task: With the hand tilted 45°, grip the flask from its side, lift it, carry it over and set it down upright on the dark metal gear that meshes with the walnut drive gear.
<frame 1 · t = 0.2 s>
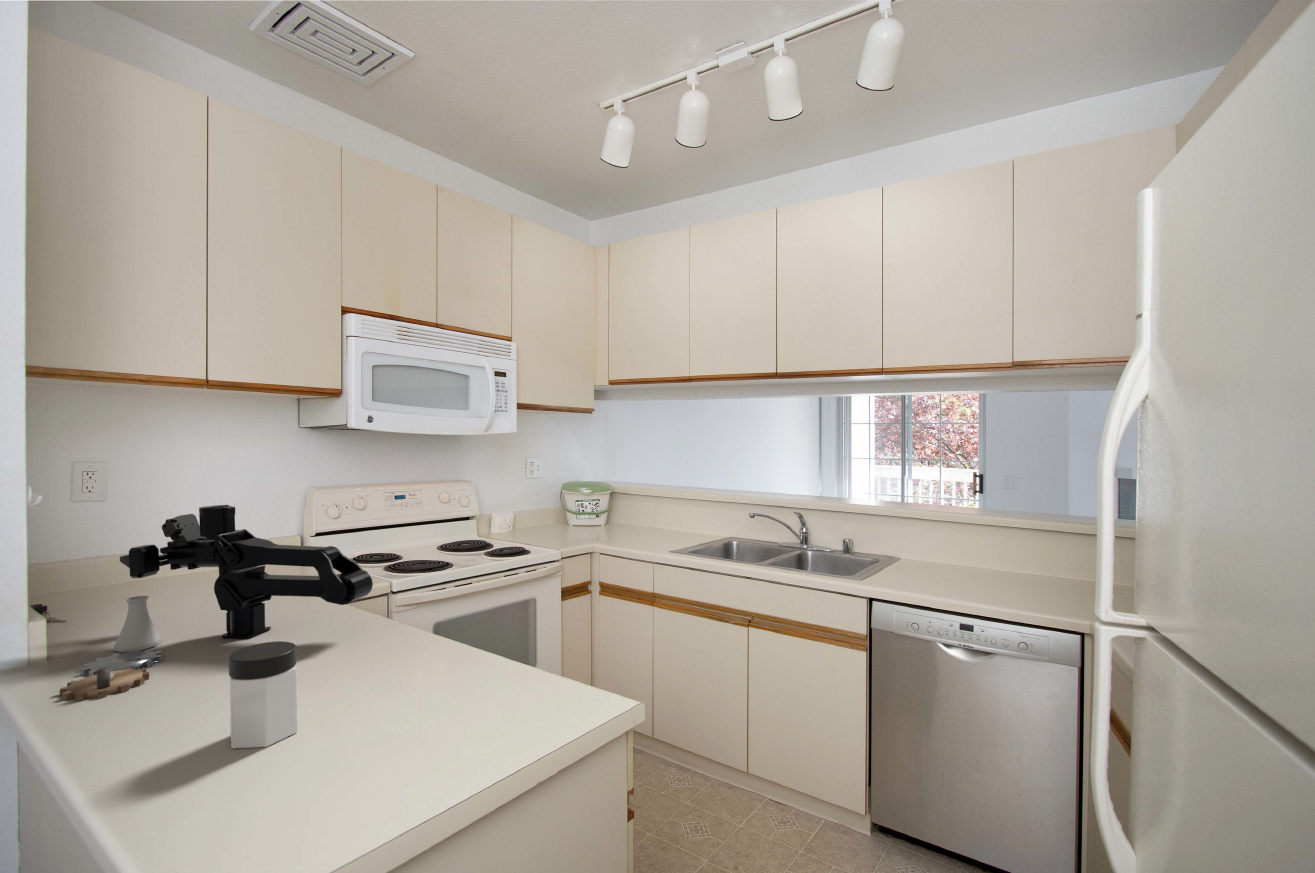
hand: (141, 554, 135), 16 cm above the worktop, tool horizontal, fingers open, 9 cm apart
flask: (138, 648, 125), on the worktop
jar: (264, 735, 88), on the worktop
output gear: (123, 665, 115), on the worktop
drive gear: (106, 686, 105), on the worktop
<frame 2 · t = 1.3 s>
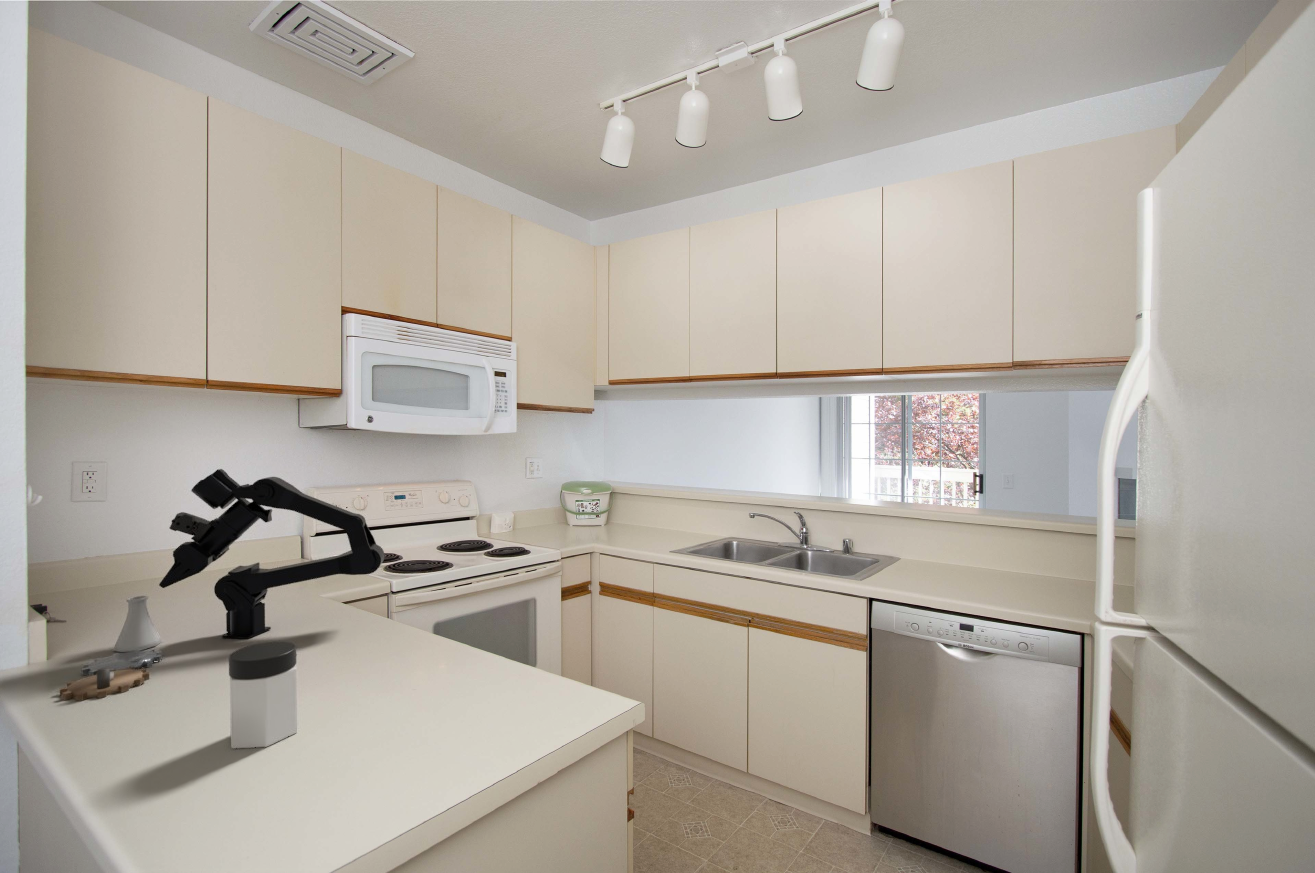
hand: (168, 581, 127), 13 cm above the worktop, tool tilted 45°, fingers open, 9 cm apart
nothing on the worktop moved.
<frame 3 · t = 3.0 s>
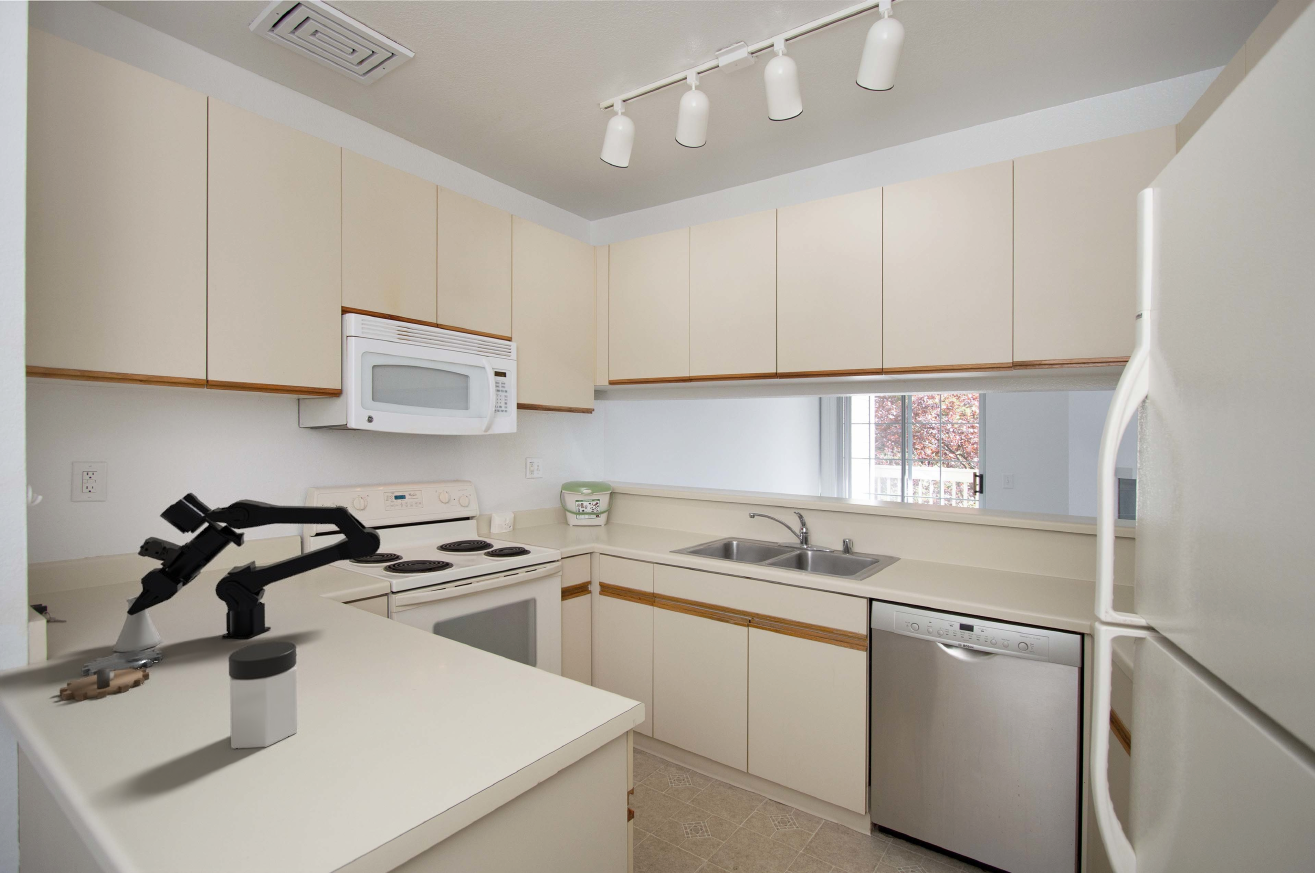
hand: (137, 607, 125), 8 cm above the worktop, tool tilted 45°, fingers open, 9 cm apart
nothing on the worktop moved.
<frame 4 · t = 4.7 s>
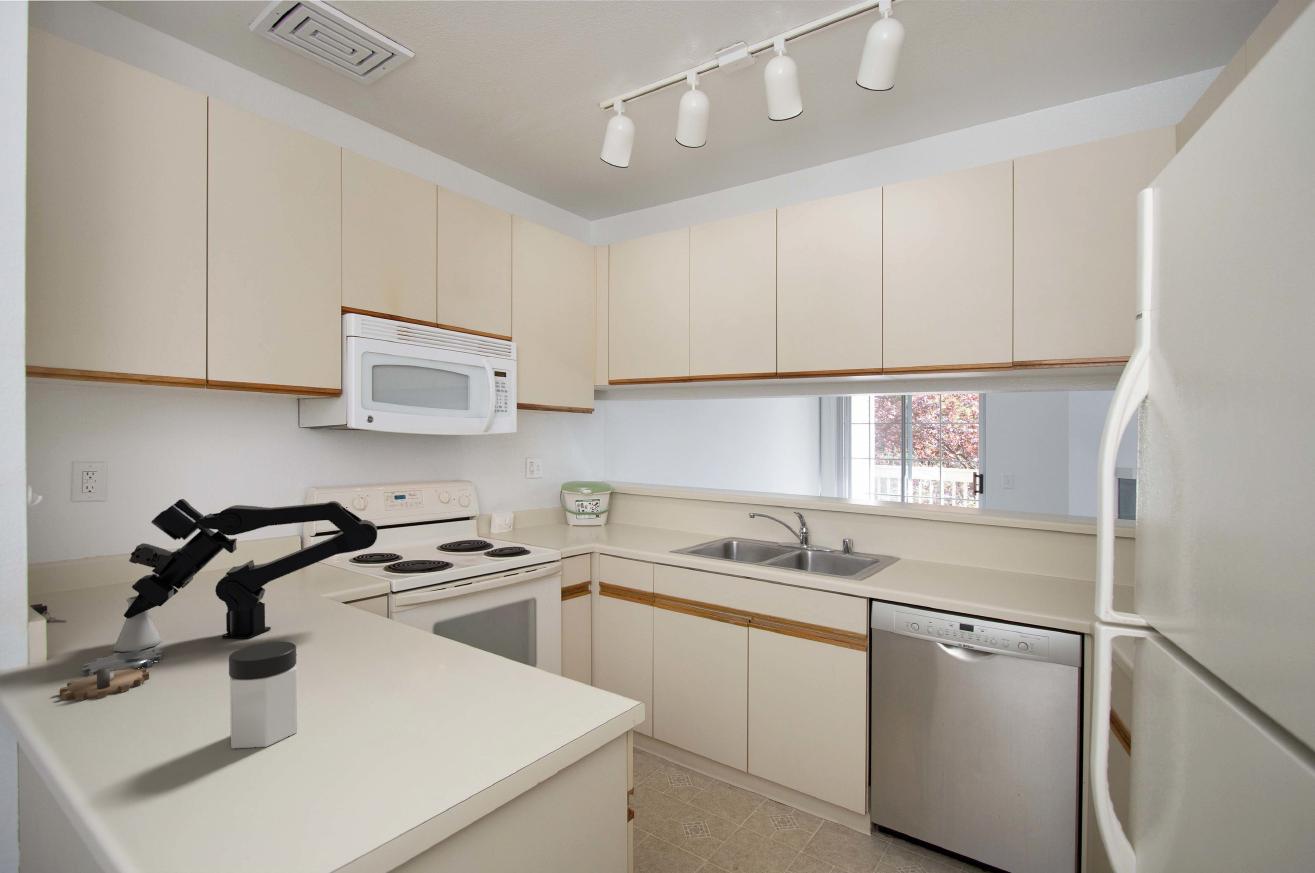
hand: (128, 614, 124), 7 cm above the worktop, tool tilted 45°, fingers closed on flask, 3 cm apart
flask: (138, 647, 125), on the worktop, touching gripper
everything else where it was.
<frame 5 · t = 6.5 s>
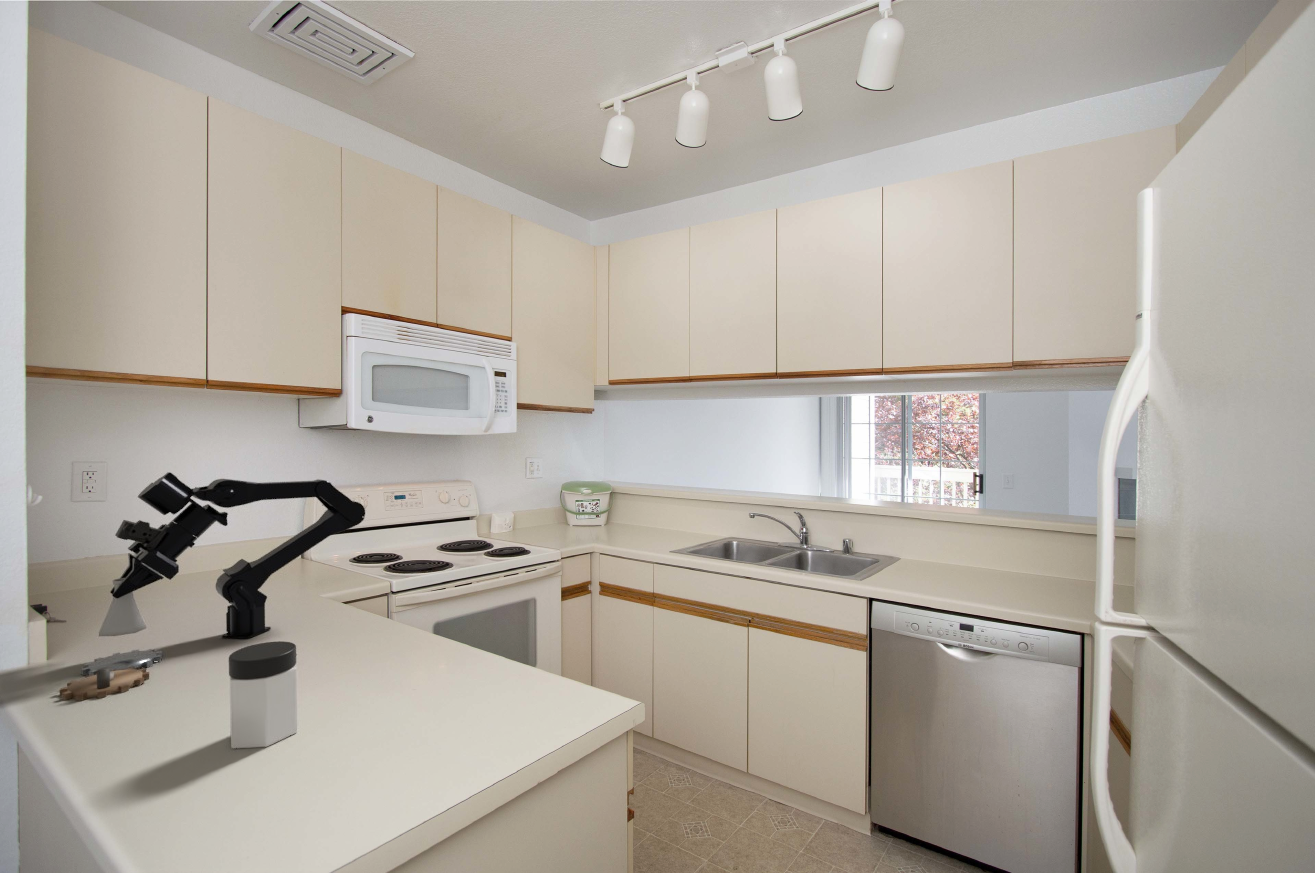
hand: (113, 595, 117), 12 cm above the worktop, tool tilted 45°, fingers closed on flask, 3 cm apart
flask: (122, 632, 118), point 5 cm above the worktop, touching gripper
everything else where it was.
when the fingers open (9 cm above the worktop, at t = 8.6 s): flask stays where it is, resting on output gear.
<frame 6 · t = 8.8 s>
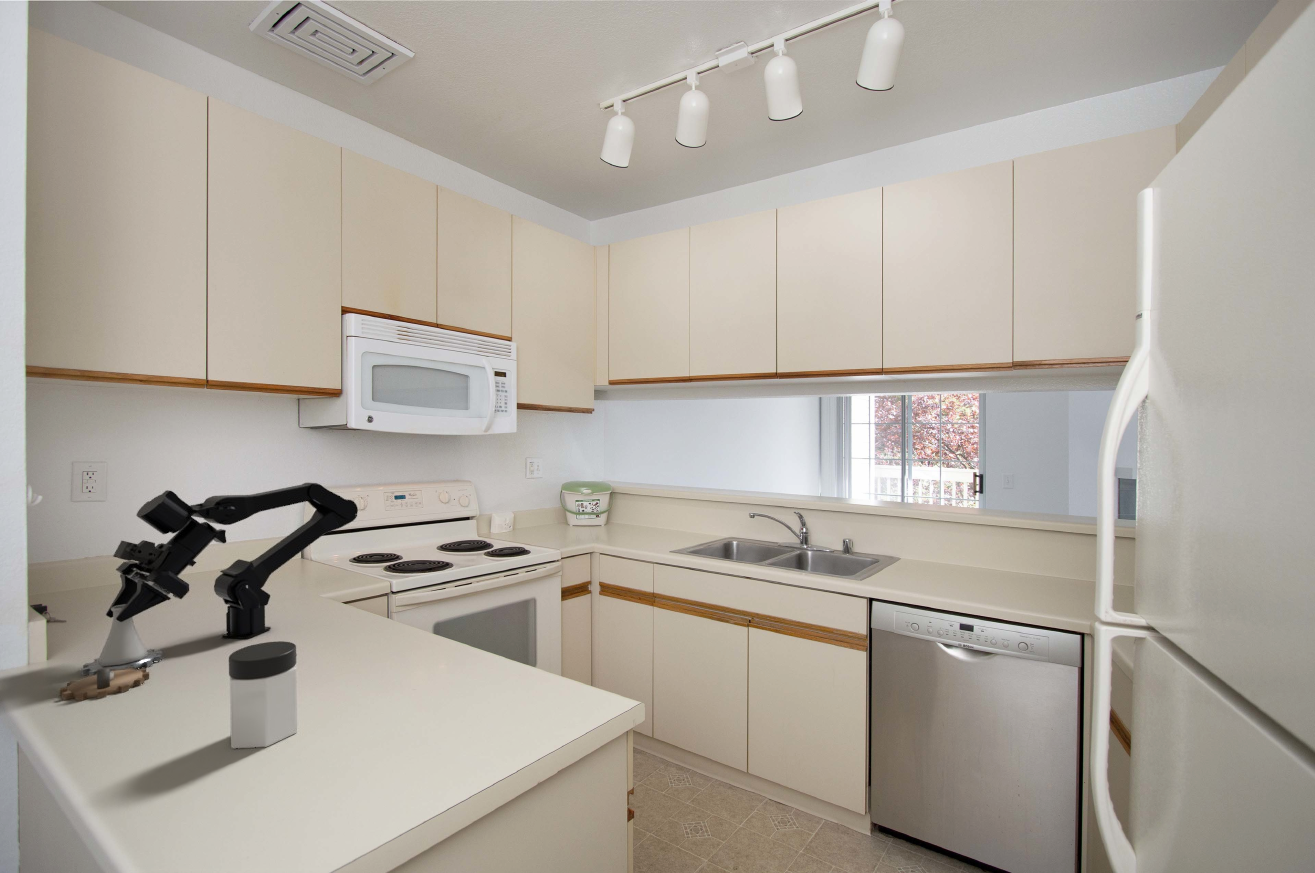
hand: (113, 618, 113), 9 cm above the worktop, tool tilted 45°, fingers open, 5 cm apart
flask: (123, 660, 115), point 1 cm above the worktop, touching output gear
everything else where it was.
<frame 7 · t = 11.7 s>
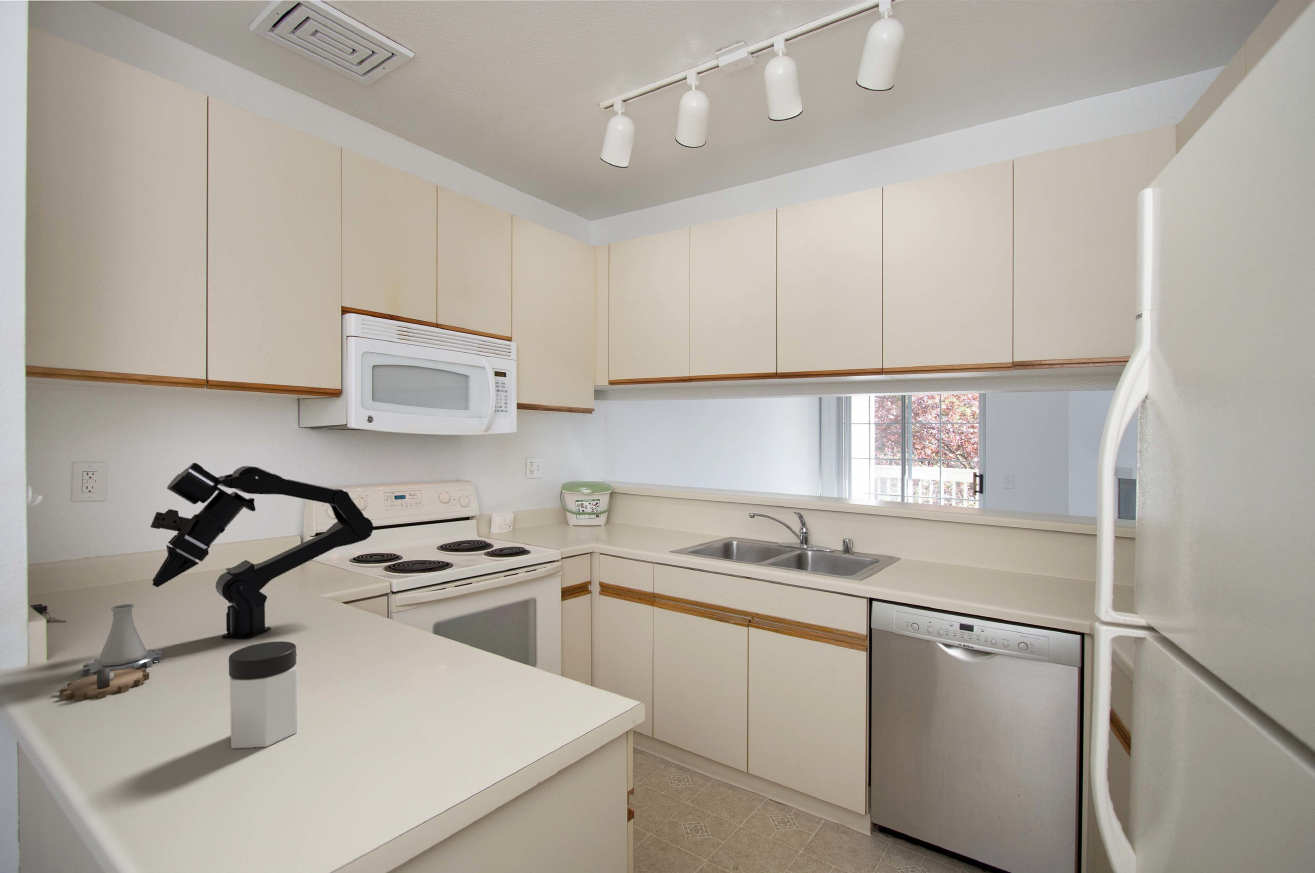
hand: (154, 584, 121), 13 cm above the worktop, tool tilted 40°, fingers open, 9 cm apart
nothing on the worktop moved.
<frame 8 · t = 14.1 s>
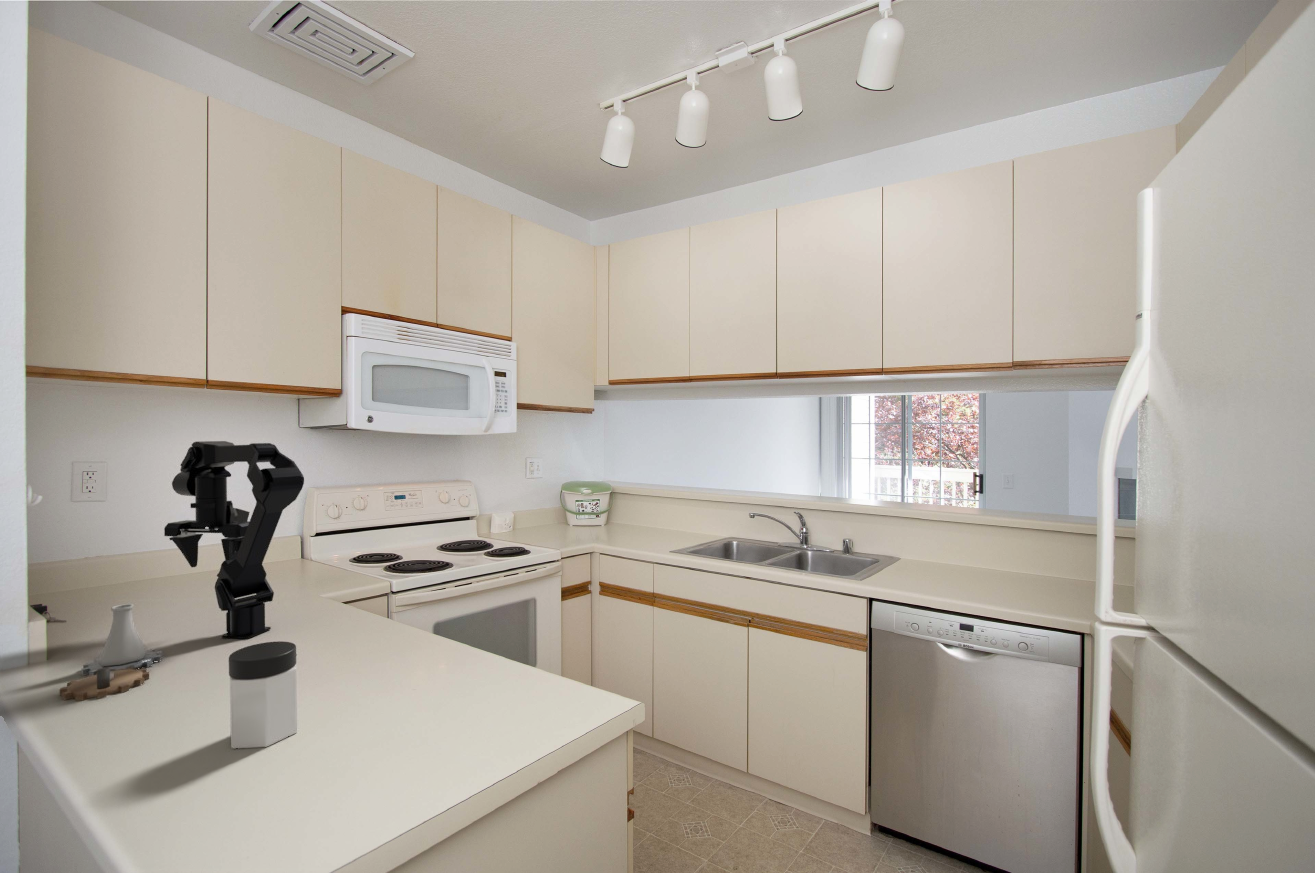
hand: (212, 567, 138), 13 cm above the worktop, tool pointing down, fingers open, 9 cm apart
nothing on the worktop moved.
at the end: flask 0.0 cm off-centre on the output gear, point 0.8 cm above the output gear's base; flask tilted 0°; the gripper is holding nothing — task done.
